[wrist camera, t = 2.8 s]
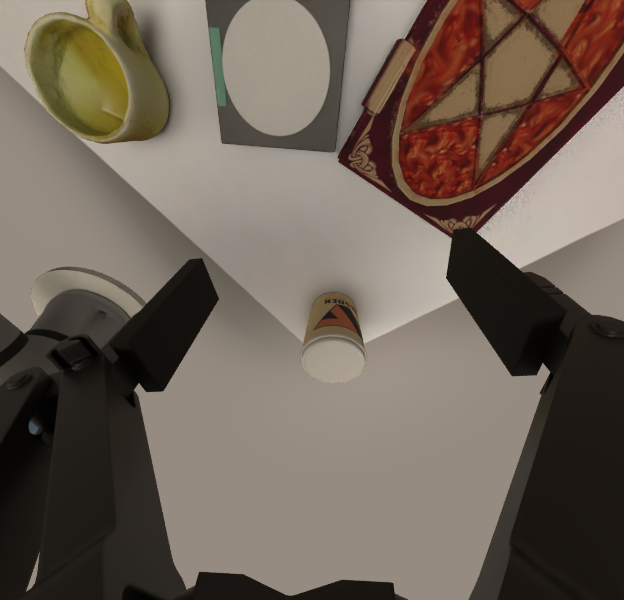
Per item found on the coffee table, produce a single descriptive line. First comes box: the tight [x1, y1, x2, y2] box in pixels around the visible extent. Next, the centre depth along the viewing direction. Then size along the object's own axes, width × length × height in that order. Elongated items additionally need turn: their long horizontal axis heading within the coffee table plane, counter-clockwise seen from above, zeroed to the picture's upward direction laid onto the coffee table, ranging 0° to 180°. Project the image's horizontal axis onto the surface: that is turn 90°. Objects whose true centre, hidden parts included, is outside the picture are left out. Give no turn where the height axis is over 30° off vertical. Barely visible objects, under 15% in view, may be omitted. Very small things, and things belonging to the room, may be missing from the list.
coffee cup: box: [300, 293, 367, 384], centre depth 42 cm, size 9×9×12 cm
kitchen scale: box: [205, 0, 350, 152], centre depth 28 cm, size 13×13×3 cm
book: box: [338, 0, 624, 238], centre depth 26 cm, size 28×21×5 cm
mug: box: [24, 0, 169, 144], centre depth 27 cm, size 12×10×10 cm
